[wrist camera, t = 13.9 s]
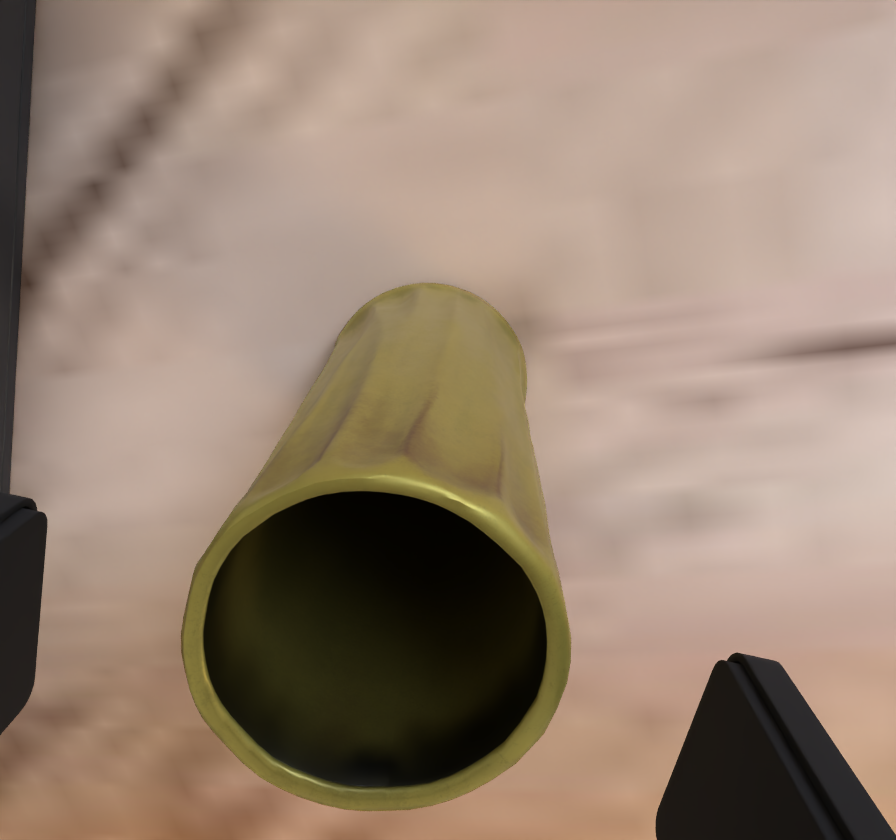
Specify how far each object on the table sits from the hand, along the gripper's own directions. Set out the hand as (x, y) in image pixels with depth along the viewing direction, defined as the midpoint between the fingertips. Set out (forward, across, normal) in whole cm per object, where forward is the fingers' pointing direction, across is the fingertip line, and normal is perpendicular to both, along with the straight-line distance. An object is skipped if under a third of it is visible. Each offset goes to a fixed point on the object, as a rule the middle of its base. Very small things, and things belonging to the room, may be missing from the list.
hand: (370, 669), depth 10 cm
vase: (+14, 0, -1) cm, 14 cm away
